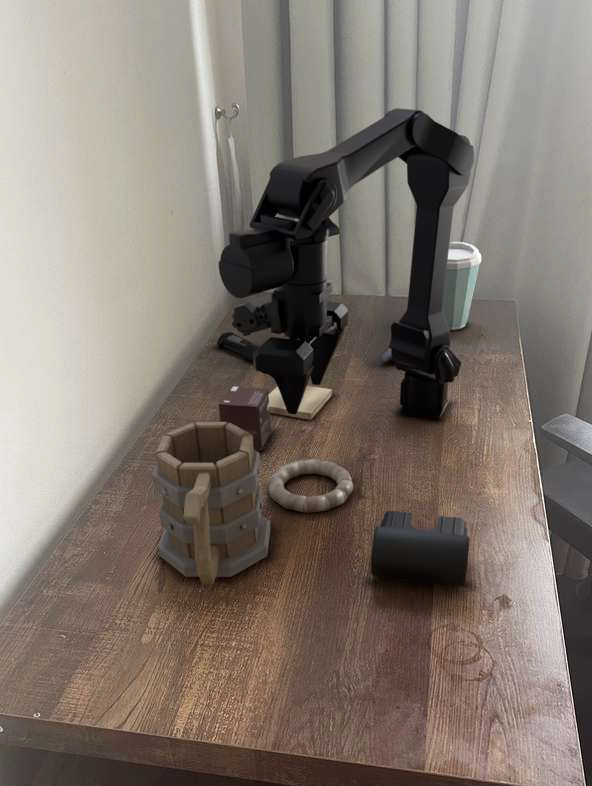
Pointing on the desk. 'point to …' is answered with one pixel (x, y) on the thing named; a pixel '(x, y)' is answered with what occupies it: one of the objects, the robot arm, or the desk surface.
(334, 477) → the ring
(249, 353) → the electric trimmer
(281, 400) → the stand
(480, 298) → the desk surface
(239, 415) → the box
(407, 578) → the black notched block
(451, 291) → the disposable coffee cup
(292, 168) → the robot arm
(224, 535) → the tankard
